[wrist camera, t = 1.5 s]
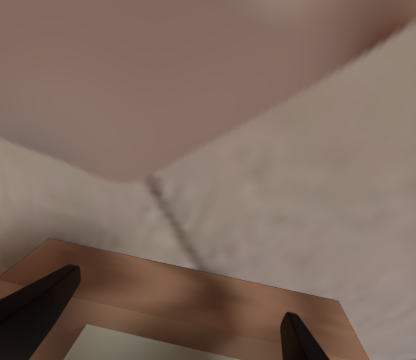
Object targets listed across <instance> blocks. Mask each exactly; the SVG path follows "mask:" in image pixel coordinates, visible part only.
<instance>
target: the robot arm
mask: <svg viewBox="0 0 416 360" xmlns="http://www.w3.org/2000/svg"><path fill="white" fill-rule="evenodd" d="M80 282H81V271H80V266H79V265H76V264H68V265H66V266H64V267H62V268H60V269H58V270H56V271H54V272H52V273H50V274H48V275H46V276H44V277H42V278H41V279H39V280H37V281H35V282H33V283H31V284H29V285H27V286H25V287H23V288H21V289H19V290H18V291H16V292H14V293H12V294H10V295H8V296H6V297H4V298H2V299H0V360H29V359H30V358H31V357H32V355H33V354H34V352H35V351H36V350H37V348H38V347H39V346H40V344H41V343H42V342H43V340H44V339H45V337H46V336H47V335H48V333H49V332H50V331H51V329H52V328H53V326H54V325H55V323H56V322H57V321H58V319H59V317H60V316H61V314H62V313H63V311H64V309H65V308H66V306H67V304H68V303H69V301H70V299H71V298H72V296H73V294H74V293H75V291H76V289H77V288H78V286H79V284H80ZM280 335H281V346H282V358H283V360H330V359H329V358H328V356H327V355H326V353H325V352H324V350H323V349H322V348H321V346H320V345H319V343H318V342H317V341H316V339H315V338H314V336H313V335H312V334H311V332H310V331H309V329H308V328H307V327H306V325H305V324H304V322H303V321H302V320H301V318H300V317H299V315H298V314H296V313H293V312H289V311H287V312H286V313H285V315H284V318H283V320H282V322H281V325H280Z"/></svg>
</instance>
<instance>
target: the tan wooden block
mask: <svg viewBox="0 0 416 360" xmlns="http://www.w3.org/2000/svg"><path fill="white" fill-rule="evenodd" d="M68 264H76V265H79V266H80V271H81V282H80V284H79V286H78V288H77V289H76V291H75V293H74V294H73V296H72V298H71V299H70V301H69V303H68V304H67V306H66V308H65V309H64V311H63V313H62V314H61V316H60V317H59V319H58V321H57V322H56V323H55V325H54V326H53V328H52V329H51V331H50V332H49V333H48V335H47V336H46V337H45V339H44V340H43V342H42V343H41V344H40V346H39V347H38V348H37V350H36V351H35V352H34V354H33V355H32V357H31V358H30V359H29V360H64V358H65V357H66V355H67V354H68V352H69V350H70V349H71V347H72V346H73V344H74V343H75V341H76V340H77V338H78V337H79V335H80V334H81V332H82V330H83V329H84V327H85V326H86V324H89V325H93V326H97V327H102V328H106V329H110V330H114V331H119V332H123V333H127V334H132V335H136V336H140V337H144V338H149V339H153V340H157V341H162V342H166V343H170V344H174V345H179V346H183V347H187V348H192V349H196V350H200V351H204V352H209V353H213V354H217V355H222V356H226V357H230V358H234V359H239V360H283V358H282V346H281V335H280V325H281V322H282V320H283V318H284V315H285V313H286V312H287V311H289V312H293V313H296V314H298V315H299V317H300V318H301V320H302V321H303V322H304V324H305V325H306V327H307V328H308V329H309V331H310V332H311V334H312V335H313V336H314V338H315V339H316V341H317V342H318V343H319V345H320V346H321V348H322V349H323V350H324V352H325V353H326V355H327V356H328V358H329V359H330V360H369V358H368V356H367V354H366V352H365V350H364V348H363V346H362V345H361V343H360V341H359V339H358V337H357V335H356V333H355V331H354V329H353V327H352V326H351V324H350V322H349V320H348V318H347V316H346V314H345V312H344V310H343V308H342V306H341V305H340V303H339V301H336V300H331V299H326V298H322V297H317V296H313V295H308V294H303V293H299V292H294V291H289V290H285V289H280V288H276V287H271V286H266V285H262V284H257V283H253V282H248V281H243V280H239V279H234V278H229V277H225V276H220V275H216V274H211V273H206V272H202V271H197V270H193V269H188V268H183V267H179V266H174V265H169V264H165V263H160V262H156V261H151V260H146V259H142V258H137V257H133V256H128V255H123V254H119V253H114V252H109V251H105V250H100V249H96V248H91V247H86V246H82V245H77V244H72V243H68V242H63V241H59V240H54V239H48V240H47V241H46V242H44V243H43V244H42V245H40V246H39V247H38V248H36V249H35V250H34V251H32V252H31V253H30V254H28V255H27V256H26V257H24V258H23V259H22V260H21V261H19V262H18V263H17V264H15V265H14V266H13V267H11V268H10V269H9V270H7V271H6V272H5V273H3V274H2V275H1V276H0V295H1V298H4V297H6V296H8V295H10V294H12V293H14V292H16V291H18V290H19V289H21V288H23V287H25V286H27V285H29V284H31V283H33V282H35V281H37V280H39V279H41V278H42V277H44V276H46V275H48V274H50V273H52V272H54V271H56V270H58V269H60V268H62V267H64V266H66V265H68Z"/></svg>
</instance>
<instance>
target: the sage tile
mask: <svg viewBox="0 0 416 360" xmlns="http://www.w3.org/2000/svg"><path fill="white" fill-rule="evenodd" d="M64 360H239V359H234V358H230V357H226V356H222V355H217V354H213V353H209V352H204V351H200V350H196V349H192V348H187V347H183V346H179V345H174V344H170V343H166V342H162V341H157V340H153V339H149V338H144V337H140V336H136V335H132V334H127V333H123V332H119V331H114V330H110V329H106V328H102V327H97V326H93V325H89V324H86V326H85V327H84V329H83V330H82V332H81V334H80V335H79V337H78V338H77V340H76V341H75V343H74V344H73V346H72V347H71V349H70V350H69V352H68V354H67V355H66V357H65V358H64Z"/></svg>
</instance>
